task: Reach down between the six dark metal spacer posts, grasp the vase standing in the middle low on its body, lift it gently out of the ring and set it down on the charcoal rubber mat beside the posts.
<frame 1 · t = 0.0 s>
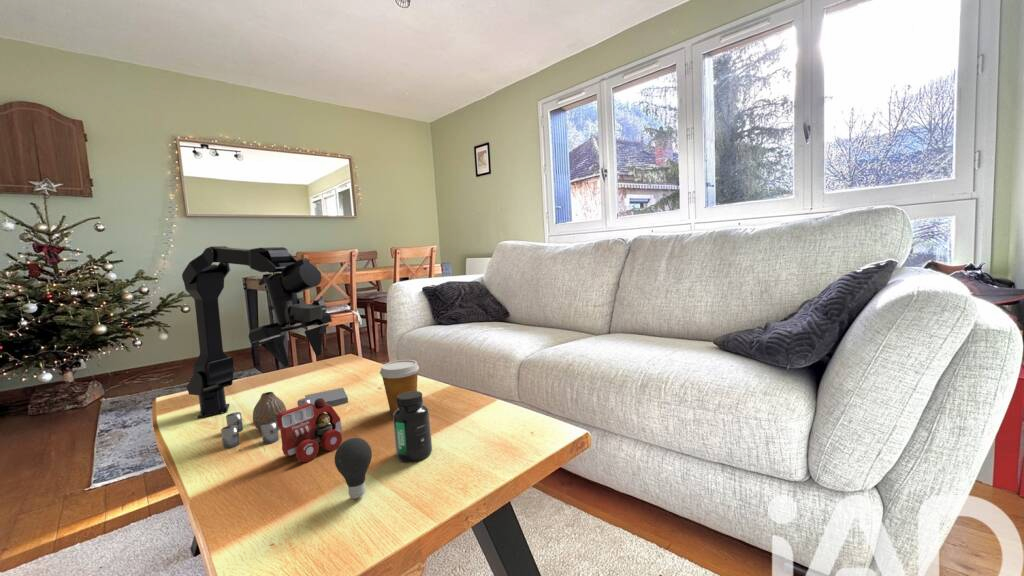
hand: (303, 361, 98), 15 cm above the table, tool pointing down, fingers open, 9 cm apart
light bulb: (357, 499, 67), on the table
toy fire truck: (314, 452, 85), on the table
spacer posts: (271, 429, 98), on the table
disposable coffee cup: (403, 411, 104), on the table
vase: (271, 430, 98), on the table
supplement bottle: (414, 455, 81), on the table
mat: (326, 401, 114), on the table
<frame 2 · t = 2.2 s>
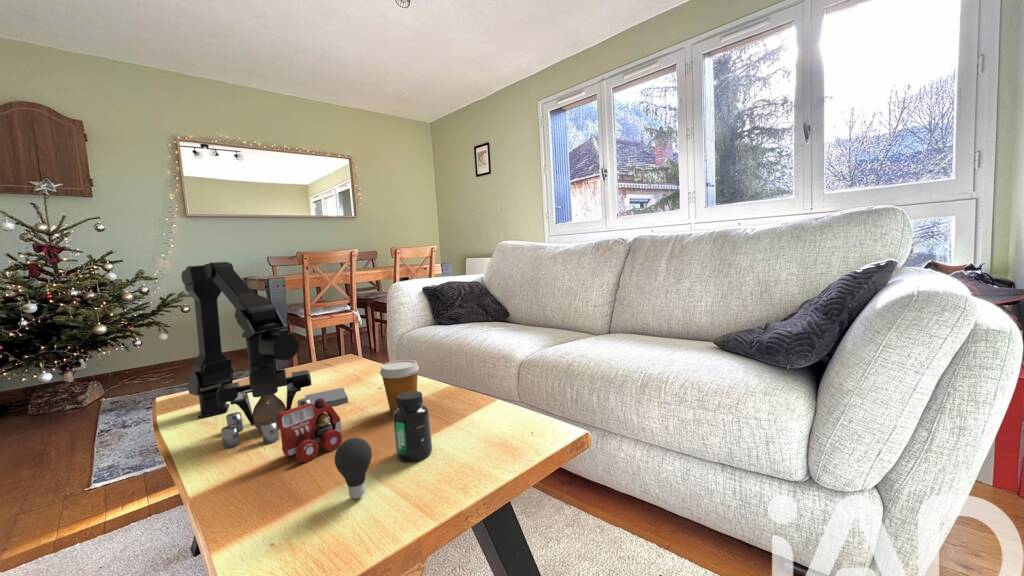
hand: (270, 420, 97), 2 cm above the table, tool pointing down, fingers closed on vase, 7 cm apart
vase: (271, 430, 98), on the table, touching gripper
everything else where it was.
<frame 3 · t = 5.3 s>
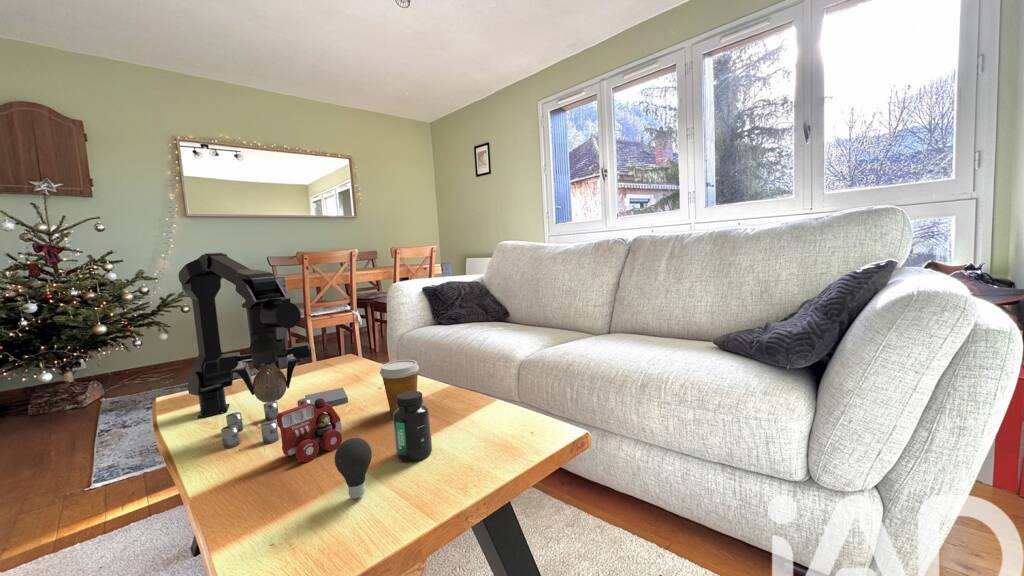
hand: (270, 391, 98), 9 cm above the table, tool pointing down, fingers closed on vase, 7 cm apart
vase: (271, 400, 98), point 7 cm above the table, touching gripper
everything else where it was.
when the fingers open (4 cm above the table, at t = 8.7 s): vase stays where it is, resting on mat.
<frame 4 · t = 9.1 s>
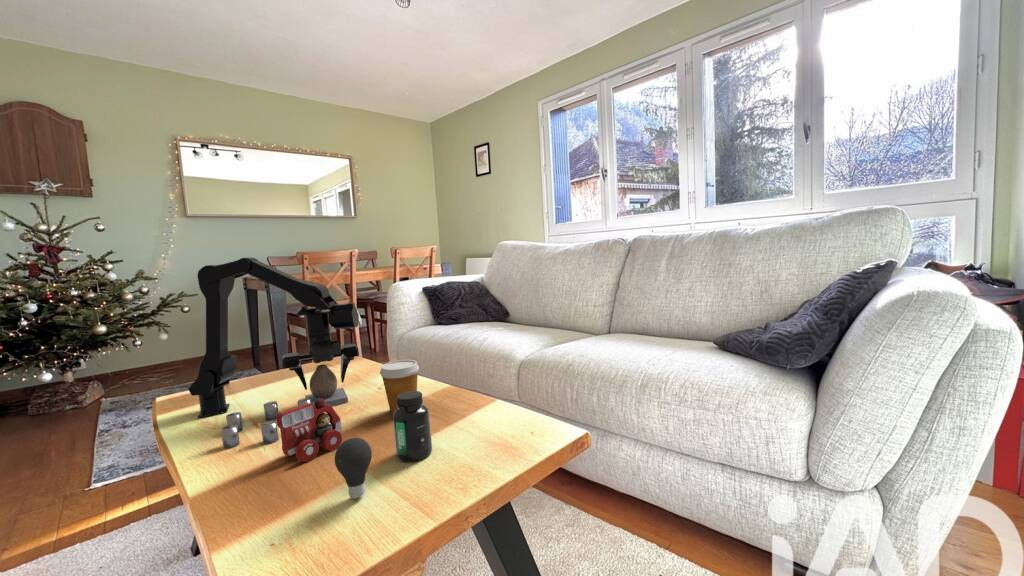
hand: (324, 385, 114), 4 cm above the table, tool pointing down, fingers open, 9 cm apart
vase: (324, 397, 114), point 1 cm above the table, touching mat
everything else where it was.
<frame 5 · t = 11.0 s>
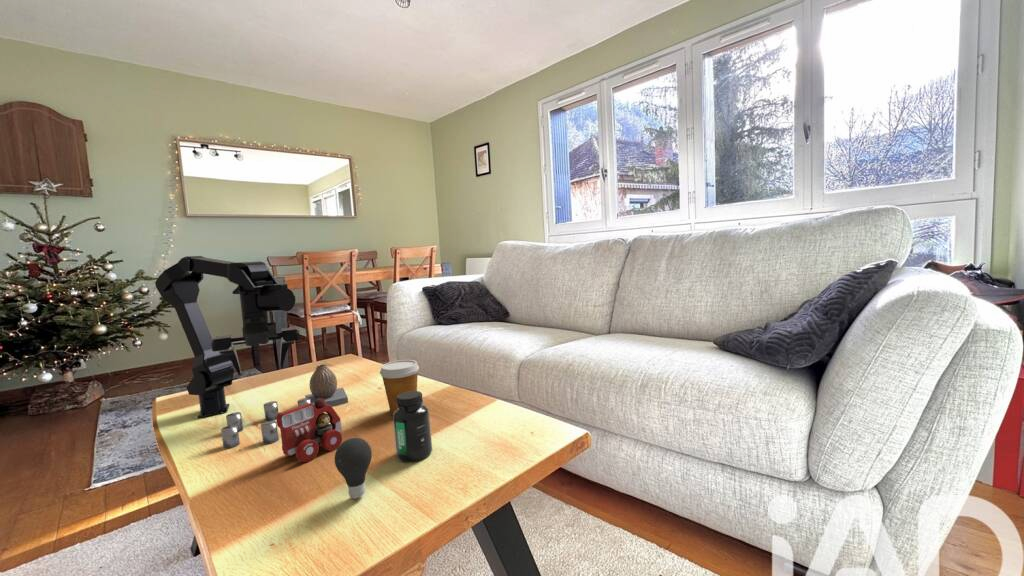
hand: (261, 371, 106), 12 cm above the table, tool pointing down, fingers open, 9 cm apart
nothing on the table moved.
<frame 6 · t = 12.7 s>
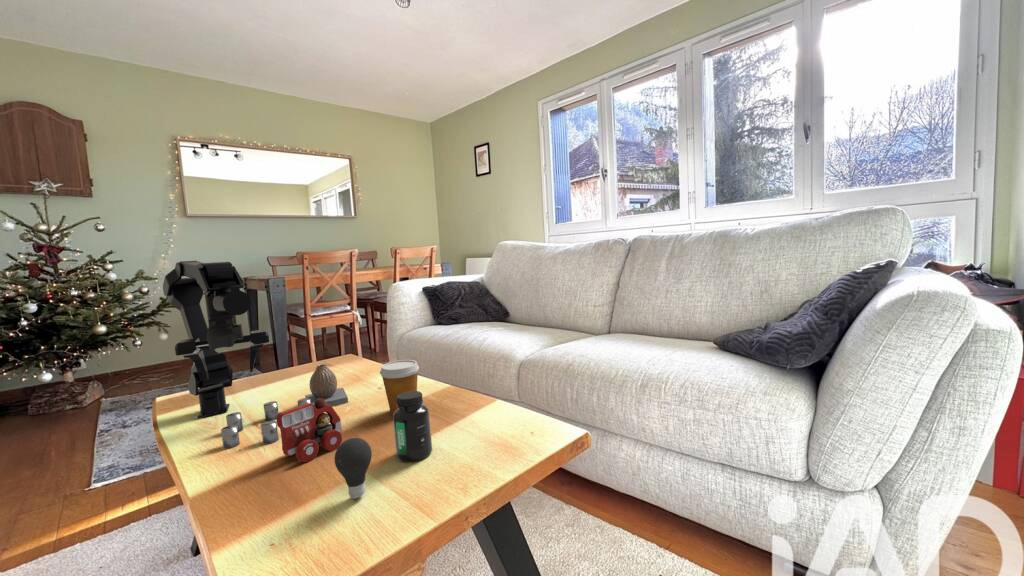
hand: (229, 375, 102), 12 cm above the table, tool pointing down, fingers open, 9 cm apart
nothing on the table moved.
at the end: vase 0.3 cm off-centre on the mat, point 1.3 cm above the mat's base; vase tilted 0°; the gripper is holding nothing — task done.
